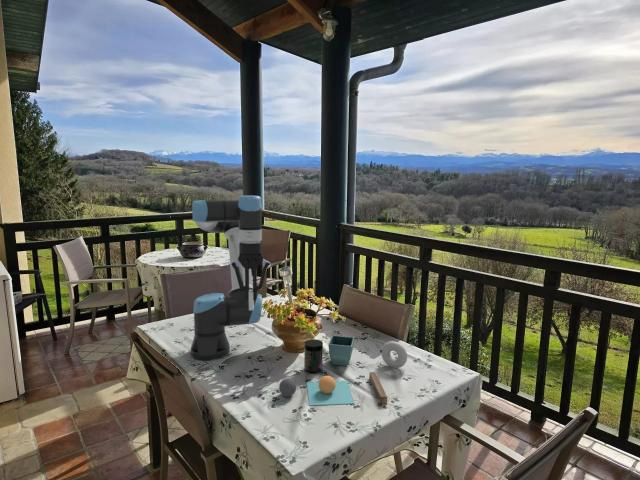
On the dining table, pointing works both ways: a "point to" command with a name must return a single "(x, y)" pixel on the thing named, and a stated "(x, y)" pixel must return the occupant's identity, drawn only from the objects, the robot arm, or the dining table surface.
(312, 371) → the supplement container
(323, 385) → the object ball
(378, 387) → the strip
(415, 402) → the dining table surface
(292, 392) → the dark grey ball
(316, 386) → the teal mark
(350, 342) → the flower pot
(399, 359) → the donut
